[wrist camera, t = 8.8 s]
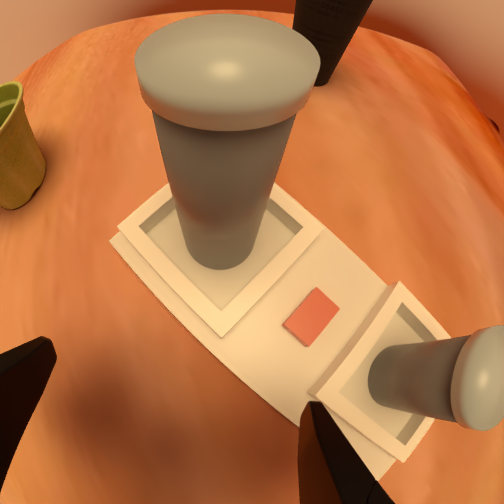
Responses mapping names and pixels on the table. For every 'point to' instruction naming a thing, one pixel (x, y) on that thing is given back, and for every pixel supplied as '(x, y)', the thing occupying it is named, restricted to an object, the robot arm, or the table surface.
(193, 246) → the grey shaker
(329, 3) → the drinking cup
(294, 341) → the peg insertion board
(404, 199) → the table surface
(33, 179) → the plant pot
